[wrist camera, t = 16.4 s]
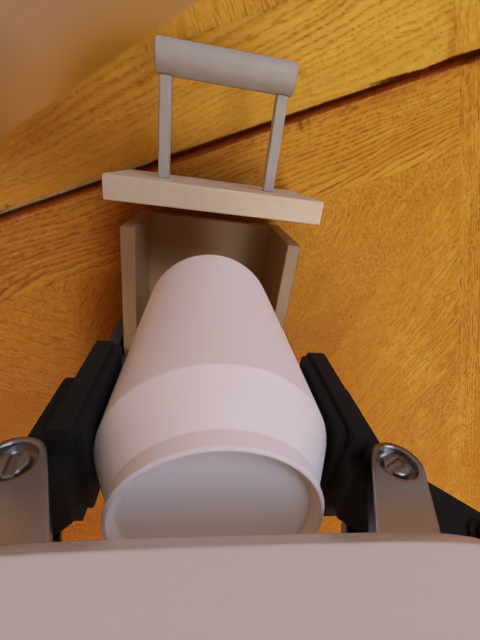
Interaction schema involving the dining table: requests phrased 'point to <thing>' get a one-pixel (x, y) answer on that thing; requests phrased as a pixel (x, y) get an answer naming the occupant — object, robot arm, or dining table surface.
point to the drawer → (209, 189)
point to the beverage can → (210, 416)
